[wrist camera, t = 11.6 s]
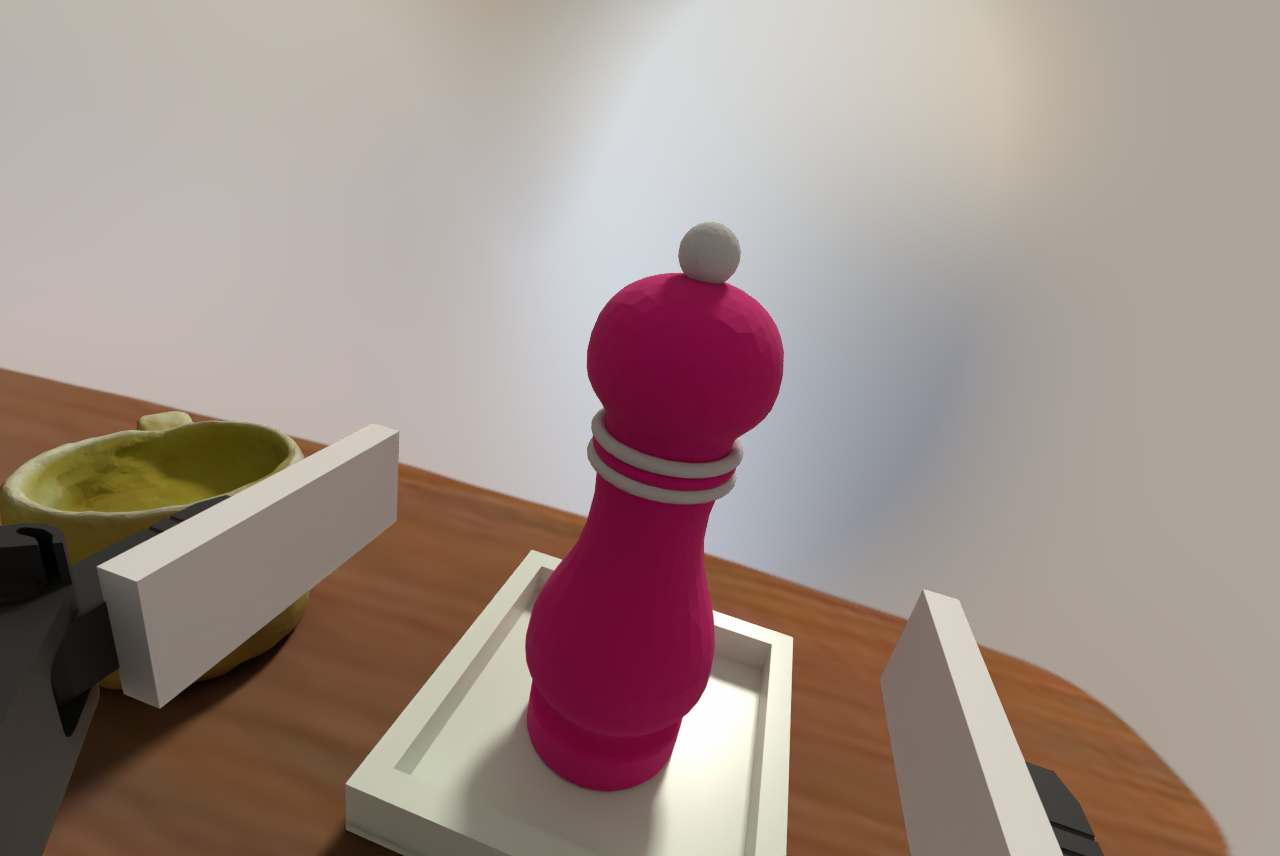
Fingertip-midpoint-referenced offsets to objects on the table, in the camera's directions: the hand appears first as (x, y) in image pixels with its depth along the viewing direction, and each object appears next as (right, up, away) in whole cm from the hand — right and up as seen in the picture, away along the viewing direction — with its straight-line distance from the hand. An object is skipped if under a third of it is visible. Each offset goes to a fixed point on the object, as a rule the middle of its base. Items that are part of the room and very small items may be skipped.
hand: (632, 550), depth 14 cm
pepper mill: (-1, -9, +10) cm, 14 cm away
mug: (-20, -5, +13) cm, 25 cm away
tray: (-1, -10, +10) cm, 14 cm away
